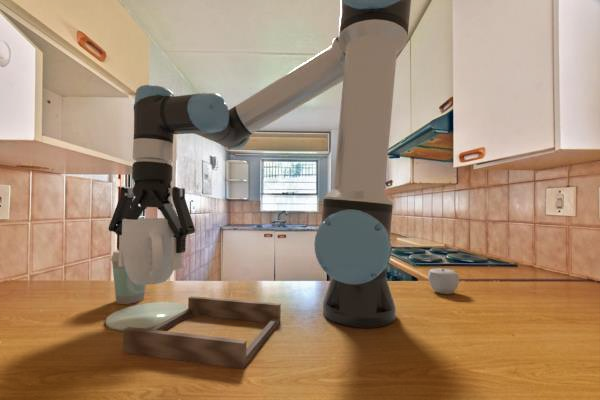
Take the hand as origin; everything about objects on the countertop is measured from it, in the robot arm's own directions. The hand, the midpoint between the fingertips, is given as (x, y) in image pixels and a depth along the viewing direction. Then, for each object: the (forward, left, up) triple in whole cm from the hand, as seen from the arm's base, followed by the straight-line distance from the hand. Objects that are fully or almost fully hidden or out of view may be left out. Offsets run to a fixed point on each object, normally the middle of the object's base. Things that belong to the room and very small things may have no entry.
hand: (150, 267), depth 61 cm
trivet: (0, 0, -10) cm, 10 cm away
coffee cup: (+12, -8, -10) cm, 18 cm away
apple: (-64, -35, -10) cm, 74 cm away
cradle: (-17, +5, -10) cm, 20 cm away
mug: (0, 0, -3) cm, 3 cm away
